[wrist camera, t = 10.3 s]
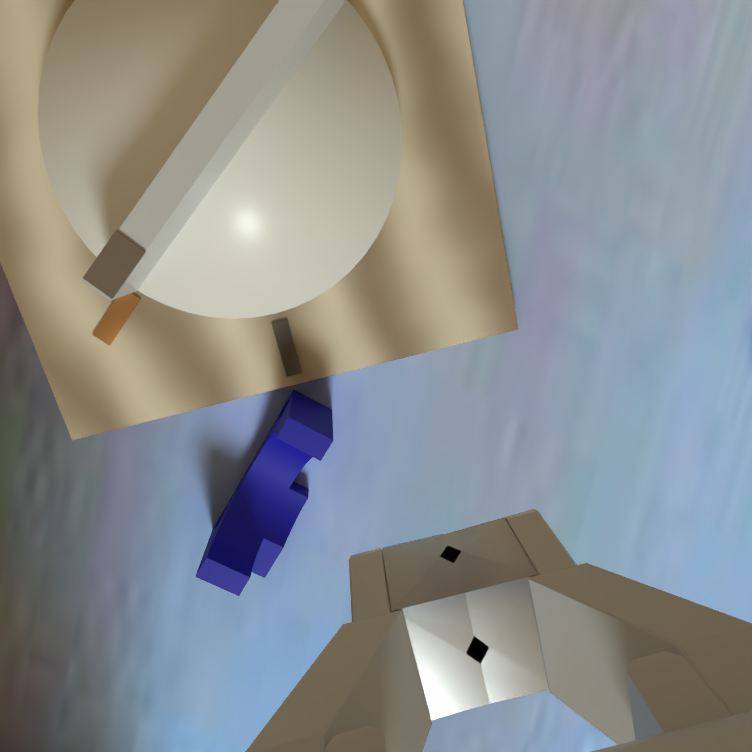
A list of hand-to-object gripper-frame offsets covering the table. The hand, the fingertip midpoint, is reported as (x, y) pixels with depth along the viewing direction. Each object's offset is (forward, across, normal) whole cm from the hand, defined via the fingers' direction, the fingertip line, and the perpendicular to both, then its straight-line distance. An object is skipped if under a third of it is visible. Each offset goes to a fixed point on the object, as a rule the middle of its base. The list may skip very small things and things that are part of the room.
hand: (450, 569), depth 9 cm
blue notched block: (+31, +8, +11) cm, 34 cm away
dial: (+29, +5, -11) cm, 31 cm away
